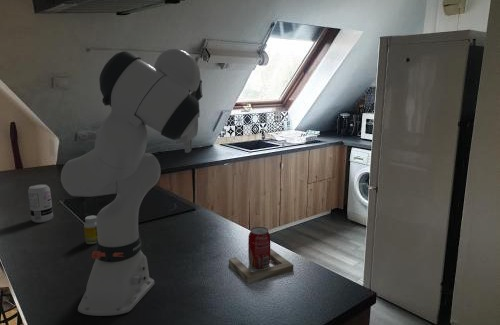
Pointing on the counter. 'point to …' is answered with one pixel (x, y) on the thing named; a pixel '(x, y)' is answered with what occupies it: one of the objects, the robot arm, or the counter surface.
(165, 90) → the robot arm
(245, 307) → the counter surface
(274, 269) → the birch bay
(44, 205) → the supplement can
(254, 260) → the soda can
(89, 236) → the supplement bottle
